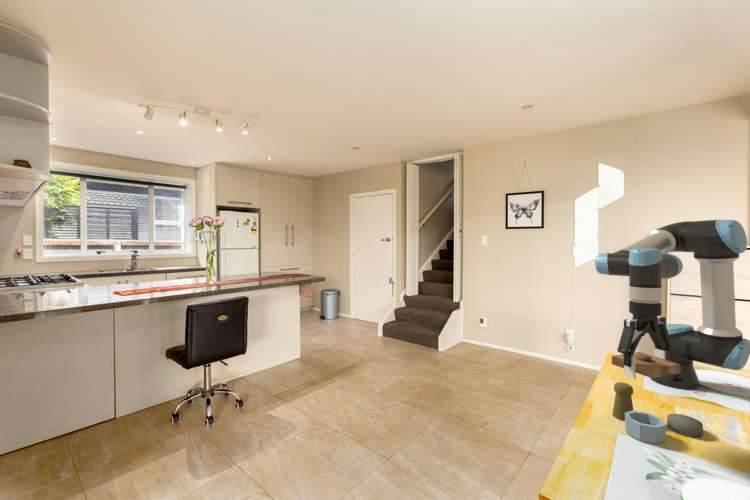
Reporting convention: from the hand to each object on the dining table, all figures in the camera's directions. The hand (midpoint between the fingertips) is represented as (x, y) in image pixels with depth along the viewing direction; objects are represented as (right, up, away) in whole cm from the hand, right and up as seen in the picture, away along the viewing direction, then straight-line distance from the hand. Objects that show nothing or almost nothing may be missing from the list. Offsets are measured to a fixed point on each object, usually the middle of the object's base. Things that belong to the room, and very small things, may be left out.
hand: (644, 374), depth 101 cm
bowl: (0, -18, +1) cm, 18 cm away
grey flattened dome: (+14, -18, +3) cm, 23 cm away
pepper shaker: (+2, -18, +11) cm, 21 cm away
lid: (0, +2, 0) cm, 2 cm away
